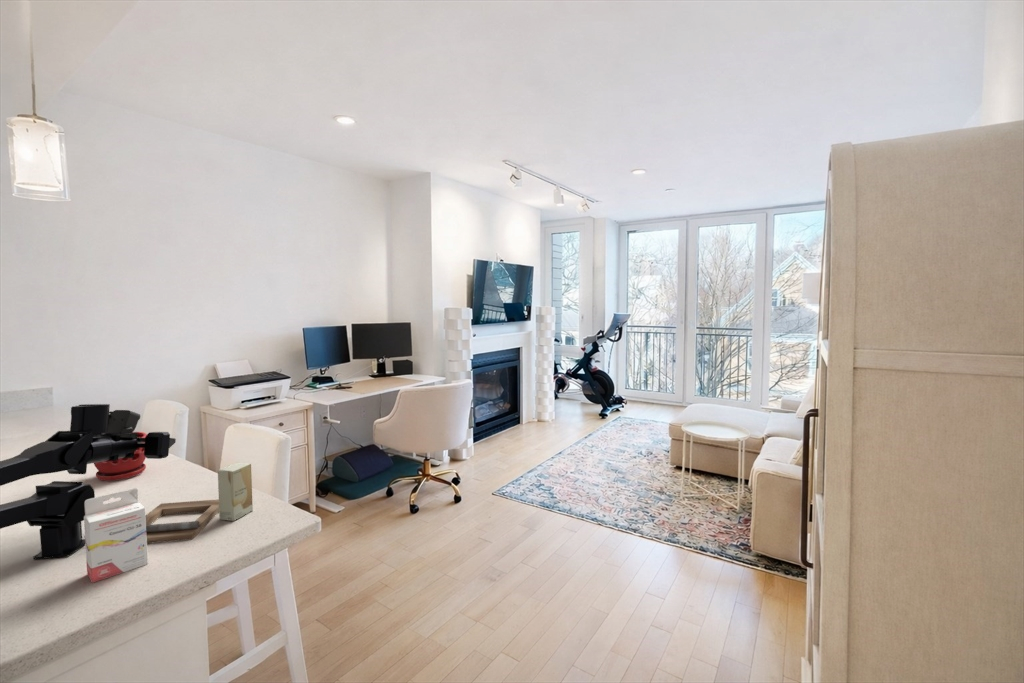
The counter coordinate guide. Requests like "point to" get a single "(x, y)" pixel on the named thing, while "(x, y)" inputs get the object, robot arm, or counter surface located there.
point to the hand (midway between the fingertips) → (158, 440)
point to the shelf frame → (182, 528)
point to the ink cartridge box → (114, 535)
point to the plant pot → (122, 465)
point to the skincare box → (235, 491)
